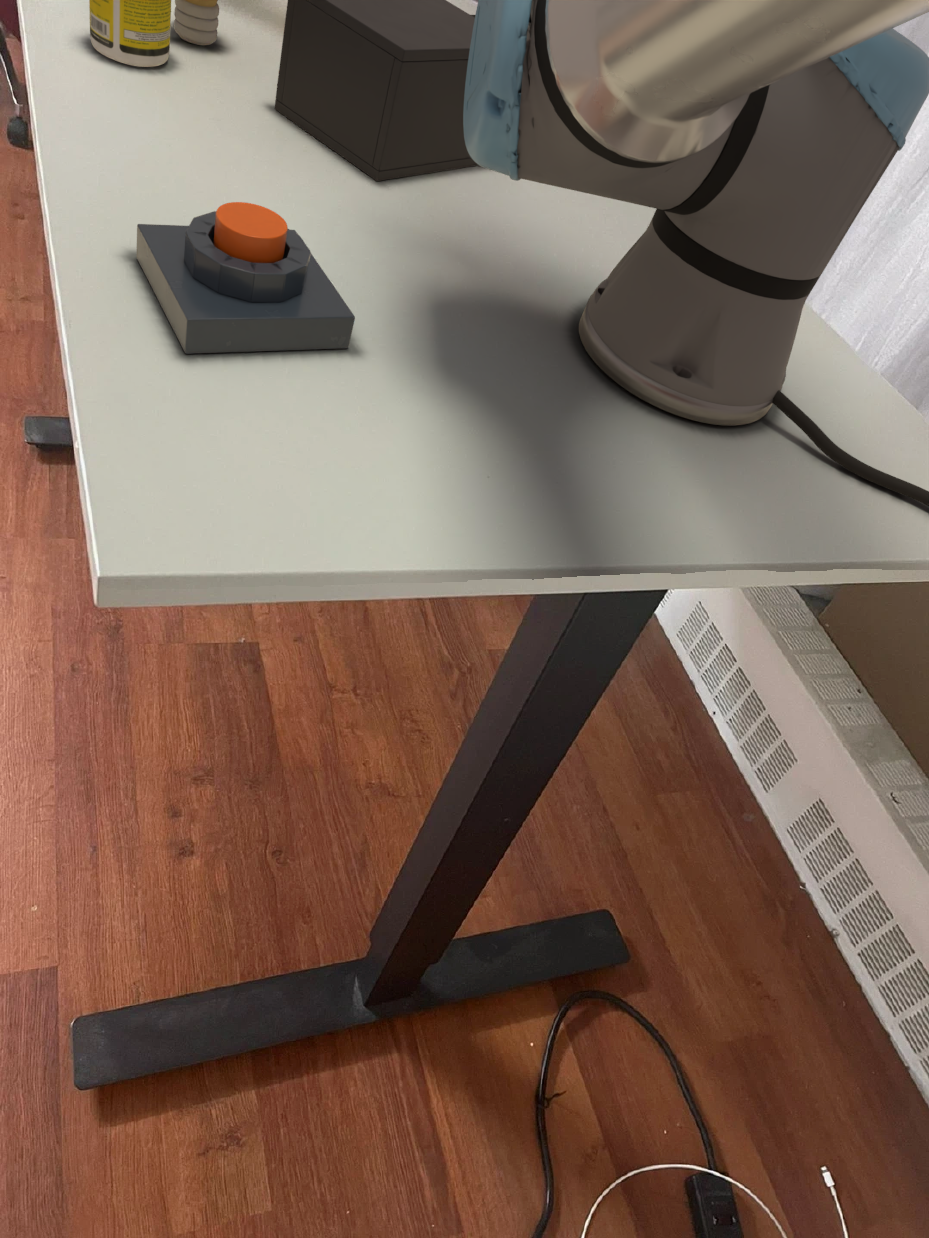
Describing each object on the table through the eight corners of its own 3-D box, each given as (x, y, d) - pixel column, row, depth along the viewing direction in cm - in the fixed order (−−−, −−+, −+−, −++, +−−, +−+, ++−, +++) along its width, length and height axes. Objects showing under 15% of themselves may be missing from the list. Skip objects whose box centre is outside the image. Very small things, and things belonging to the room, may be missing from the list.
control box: (348, 348, 55) (362, 289, 52) (185, 354, 50) (189, 289, 47) (290, 260, 60) (299, 202, 57) (135, 258, 55) (137, 193, 52)
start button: (293, 267, 52) (298, 239, 51) (226, 266, 50) (229, 236, 49) (269, 231, 54) (273, 203, 53) (204, 229, 52) (206, 199, 51)
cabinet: (393, 99, 85) (418, -17, 78) (489, 163, 81) (524, 47, 75) (274, 109, 76) (290, -23, 69) (376, 181, 72) (404, 50, 65)
